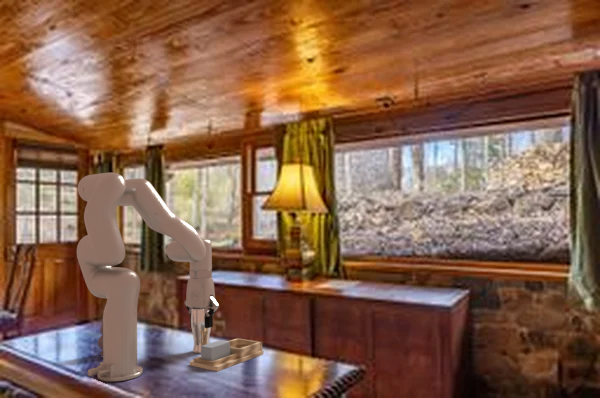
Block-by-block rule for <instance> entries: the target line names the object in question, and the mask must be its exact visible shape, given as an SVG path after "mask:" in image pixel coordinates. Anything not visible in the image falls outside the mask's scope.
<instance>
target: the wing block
mask: <svg viewBox="0 0 600 398" xmlns="http://www.w3.org/2000/svg"><path fill="white" fill-rule="evenodd" d="M227 341H228V340H227ZM227 341H226V340H222V339H221V340H220V339H219V340H216V341H213V342H209V344H206V345H203V346H201V353H200V356H201V359H204V360H209V361H215V360H218V359H221V358H224V357H226V356H229V355H230V342H227Z"/></svg>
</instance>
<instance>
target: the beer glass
mask: <svg viewBox="0 0 600 398" xmlns="http://www.w3.org/2000/svg"><path fill="white" fill-rule="evenodd" d="M208 310H209V309H208ZM209 311H210V310H209ZM205 316H206V313H205V310H204V309H199V308H192V311H191V326H190V327H191V330H192V331H191V332H192V336H193V349H192V352H193V354H201V346H203V345H206V344H209V343H210V338H211V337H210V336H211V330H212V329H211V328H212V327H210V328H205Z"/></svg>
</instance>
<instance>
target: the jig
mask: <svg viewBox="0 0 600 398" xmlns="http://www.w3.org/2000/svg"><path fill="white" fill-rule="evenodd" d="M227 342H230V355H229V356H226V357H224V358H221V359H218V360H215V361H209V360H204V359H201V355H200V356H196V357H194V358H193V359H192V360H189V366H192V367H195V368H201V369H205V370H210V371H214V372H220V371H222V370H225V369H227V368H230V367H233V366H235V365H238V364H241V363H244V362H247V361H248V360H252V359H254V358H257V357H258V358H259V357H261V356H264V350H263V342H262V341H257V340H251V339H244V338H238V337H237V338H234V339H231V340H227Z"/></svg>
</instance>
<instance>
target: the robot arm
mask: <svg viewBox="0 0 600 398" xmlns="http://www.w3.org/2000/svg"><path fill="white" fill-rule="evenodd" d="M77 193H78V196H79V197H80V198H81V199H82V200H83V201H84V202H85V201H86V202H87V203H86V204H85V205H86V206H85V208H84V213H83V221H84V226H85V228H86V232H87V235H85V236H83V237H82V238H81V239H80V240H79V242H78V244H77V247H76V258H77V261H78V265H79V267H80V271H81V273H82V276H83V280H84V281H85V285H86V287H87V289H88V291H89V292H90V294H92V295H93V296H94V297H96V298H101V299H107V300H106V304H105V306H104V310H103V315H102V320H103V358H102V359H103V360H102V361H100V362H99V365H98V366H97V367H93V368H90V369H88V370H87V375H88V377H93V376H95V375H97V379H98V380H100V381H103V382H121V381H128V380H132V379H135V378H138V377H141V375H142V374H143V372H144V370H143V367H141V366H139V365H138V301H139V297H140V291H141V280H140V276H139V274H138V273H136V272H135V271H134V270H132V269H130V268H127V267H121V266H120V267H117V265H119V264H121V263H122V262H123V261H124V260H125V257H126V247H125V244H124V243H125V242H124V241H123V237H122V234H121V231H120V229H119V225H118V221H117V217H116V213H117V207H129V206H130V207H133V208H134V209H135V211H136V212H137V213H138V214H139V216H140V217H141V219H142V220H143V222H145V224H146V225H147V226H148V227H149V229H151V230H152V231H155V232H157V233H159V234H161V235H164V236H167V237H168V238H171V239H173V240H172V241H171V242H170V243H168V245H167V246H166V249H165V250H166V256H167V257H168V258H169V259H170V260H172V261H173V262H179V263H189V272H188V273H189V274H188V275H189V278H188V279H187V280H188V281H187V284H186V295H185V296H186V297H185V299H186V300H185V301H183V302H184V305H185V307H186V309H187V311H188V315H189V319H190V320H189V324H190V325H189V326H190V327H192V326H191V311H192V308H199V309H204V310H205V313H206V316H205V328H210V327H211V328H213V327H214V315H215V313H216V312H217V311H218V309H219V307H220V305H219V303H218V302H217V300H216V295H215V294H216V293H215V291H216V290H215V283H214V279H213V273H212V272H213V270H212V269H213V264H212V263H213V262H212V261H213V260H212V259H213V258H212V257H213V255H212V254H213V253H212V252H213V251H212V250H213V249H212V241H211V240H210V239H207V238H201V235H200V234H199V232H197V230H196V229H195V228H194V227H193V226H192V225H190V224H189V223H188V222H186V221H185V220H184V219H183V218H181V217H180V216H178V215H177V214H175V213H174V212H172V210H171V209H170V208H169V206H168V205H167V203H165V201H164V199H163V198H162V197H161V195H160V194H159V193H158V191H157V190H156V188H155V187H154V186H153V183H151V182H150V181H148V180H147V179H144V178H130V179H129V178H128V179H125V178H124V177H123V176H122V175H121V174H119V173H117V172H102V173H101V172H100V173H94V174H88V175H86V176H83V177H82V178H81V179H80V180H79V182H78V184H77ZM208 309H209V310H210V311H209V310H208Z"/></svg>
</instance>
